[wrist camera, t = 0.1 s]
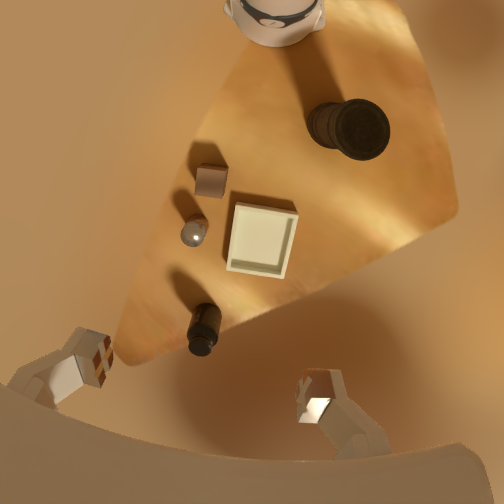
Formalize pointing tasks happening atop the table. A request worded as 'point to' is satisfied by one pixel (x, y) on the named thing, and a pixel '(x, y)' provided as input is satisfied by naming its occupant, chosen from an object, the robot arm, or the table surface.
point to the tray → (261, 240)
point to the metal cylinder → (194, 230)
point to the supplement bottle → (204, 329)
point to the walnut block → (211, 180)
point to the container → (351, 128)
